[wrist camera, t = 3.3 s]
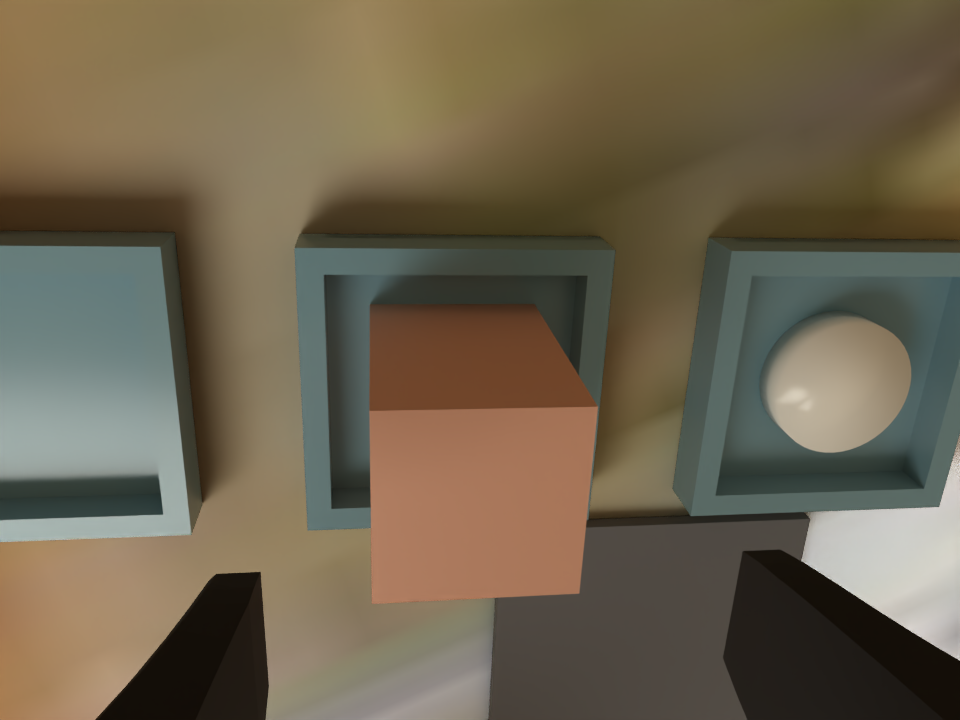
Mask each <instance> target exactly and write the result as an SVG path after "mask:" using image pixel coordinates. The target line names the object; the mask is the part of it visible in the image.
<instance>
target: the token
mask: <svg viewBox="0 0 960 720" xmlns="http://www.w3.org/2000/svg"><path fill="white" fill-rule="evenodd" d="M910 383H911V364H910V359H909V356H908V353H907V351H906V349H905V347H904V345H903V344H902V343H901V341H900V340H899V339H898V338H897V337H896V336H895V335H894V334H893V333H891V332H890V331H888V330H887V329H885V328H883V327H881V326H879V325H877V324H876V323H874V322H872V321H870V320H868V319H866V318H864V317H862V316H860V315H858V314H855V313H852V312H846V311H829V312H823V313H819V314H816V315H813V316H810V317H808V318H806V319H804V320H802V321H800V322H799V323H797V324H796V325H794V326H792V327H791V328H790V329H789V330H788V331H786V332H785V333H784V334H783V335H782V336H781V337H780V338H779V339H778V341H777V342H776V343H775V344H774V346H773V347H772V349H771V350H770V352H769V354H768V355H767V357H766V360H765V362H764V364H763V367H762V371H761V375H760V385H759V389H760V397H761V401H762V404H763V407H764V409H765V411H766V413H767V414H768V416H769V417H770V418H771V419H772V421H773V422H774V423H775V424H777V425H778V426H779V427H780V428H781V429H782V430H783V431H784V432H785V433H786V434H787V435H788V436H790V437H791V438H792V439H793V440H794V441H795V442H796V443H798V444H800V445H801V446H803V447H805V448H808V449H810V450H814V451H817V452H825V453H834V452H842V451H846V450H850V449H853V448H856V447H859V446H861V445H863V444H865V443H867V442H869V441H870V440H872V439H873V438H875V437H876V436H878V435H879V434H880V433H881V432H883V431H884V430H885V429H886V428H887V427H888V426H889V425H890V424H891V422H892V421H893V420H894V419H895V418H896V416H897V415H898V413H899V412H900V410H901V408H902V406H903V405H904V403H905V400H906V398H907V395H908V392H909V388H910Z"/></svg>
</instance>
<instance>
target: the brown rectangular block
mask: <svg viewBox="0 0 960 720" xmlns="http://www.w3.org/2000/svg"><path fill="white" fill-rule="evenodd" d="M597 412H598V406H597V404H596V403H595V401H594V399H593V398H592V396H591V395H590V393H589V391H588V390H587V388H586V387H585V385H584V383H583V382H582V380H581V378H580V377H579V375H578V374H577V372H576V370H575V369H574V367H573V366H572V364H571V362H570V361H569V359H568V357H567V356H566V354H565V353H564V351H563V349H562V348H561V346H560V344H559V343H558V341H557V340H556V338H555V336H554V335H553V333H552V332H551V330H550V328H549V327H548V325H547V323H546V322H545V320H544V319H543V317H542V315H541V314H540V312H539V311H538V309H537V307H536V306H535V304H370V383H369V417H370V493H371V569H372V604H378V603H399V602H419V601H439V600H459V599H479V598H500V597H520V596H540V595H560V594H579V591H580V581H581V571H582V561H583V551H584V541H585V531H586V521H587V511H588V501H589V492H590V482H591V472H592V462H593V452H594V442H595V432H596V422H597Z"/></svg>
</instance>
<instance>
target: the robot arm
mask: <svg viewBox="0 0 960 720" xmlns="http://www.w3.org/2000/svg"><path fill="white" fill-rule="evenodd" d="M723 660H724V662H725V665H726V668H727V670H728V673H729V676H730V678H731V681H732V684H733V686H734V689H735V692H736V694H737V696H738V699H739V701H740V704H741V706H742V709H743V711H744V713H745V716H746V718H747V720H960V661H959V660H958V659H956V658H954V657H952V656H951V655H949V654H947V653H946V652H944V651H942V650H940V649H939V648H937V647H935V646H934V645H932V644H930V643H929V642H927V641H925V640H924V639H922V638H921V637H919V636H917V635H916V634H914V633H912V632H911V631H909V630H908V629H906V628H904V627H903V626H901V625H900V624H898V623H896V622H895V621H893V620H892V619H890V618H889V617H887V616H886V615H884V614H882V613H881V612H879V611H878V610H876V609H875V608H873V607H872V606H870V605H868V604H867V603H865V602H864V601H862V600H861V599H859V598H858V597H856V596H855V595H853V594H851V593H850V592H848V591H847V590H845V589H844V588H842V587H841V586H839V585H838V584H836V583H835V582H833V581H832V580H830V579H828V578H827V577H825V576H824V575H822V574H821V573H819V572H817V571H816V570H814V569H813V568H811V567H810V566H808V565H806V564H805V563H803V562H802V561H800V560H798V559H796V558H795V557H793V556H791V555H790V554H788V553H786V552H784V551H782V550H780V549H778V550H755V551H743V552H742V557H741V563H740V568H739V573H738V579H737V584H736V589H735V595H734V600H733V606H732V611H731V616H730V622H729V627H728V633H727V638H726V643H725V649H724V654H723ZM268 688H269V682H268V669H267V655H266V641H265V628H264V614H263V601H262V587H261V573H260V572H251V573H228V574H216V575H215V576H214V577H213V578H211V579H210V580H209V581H208V583H207V584H206V585H205V587H204V588H203V590H202V591H201V592H200V594H199V595H198V597H197V598H196V599H195V601H194V602H193V603H192V605H191V606H190V608H189V609H188V610H187V612H186V613H185V614H184V616H183V617H182V618H181V619H180V621H179V622H178V623H177V625H176V626H175V627H174V629H173V630H172V631H171V632H170V634H169V635H168V636H167V638H166V639H165V640H164V641H163V643H162V644H161V645H160V646H159V647H158V649H157V650H156V651H155V652H154V653H153V655H152V656H151V657H150V658H149V659H148V661H147V662H146V663H145V664H144V666H143V667H142V668H141V669H140V670H139V672H138V673H137V674H136V675H135V676H134V678H133V679H132V680H131V681H130V682H129V683H128V685H127V686H126V687H125V688H124V689H123V690H122V691H121V692H120V693H119V694H118V696H117V697H116V698H115V699H114V700H113V701H112V702H111V703H110V704H109V705H108V706H107V708H106V709H105V710H104V711H103V712H102V713H101V714H100V715H99V716H98V717H97V718H96V720H265V718H266V708H267V698H268Z"/></svg>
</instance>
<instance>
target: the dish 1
mask: <svg viewBox="0 0 960 720" xmlns="http://www.w3.org/2000/svg"><path fill="white" fill-rule="evenodd" d="M201 507H202V496H201V486H200V476H199V466H198V456H197V446H196V436H195V426H194V416H193V407H192V397H191V387H190V377H189V367H188V357H187V347H186V337H185V327H184V318H183V308H182V298H181V288H180V278H179V268H178V258H177V248H176V238H175V232H80V231H0V542H13V541H40V540H67V539H93V538H120V537H147V536H174V535H192V532H193V529H194V526H195V524H196V521H197V518H198V515H199V513H200V510H201Z"/></svg>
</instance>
